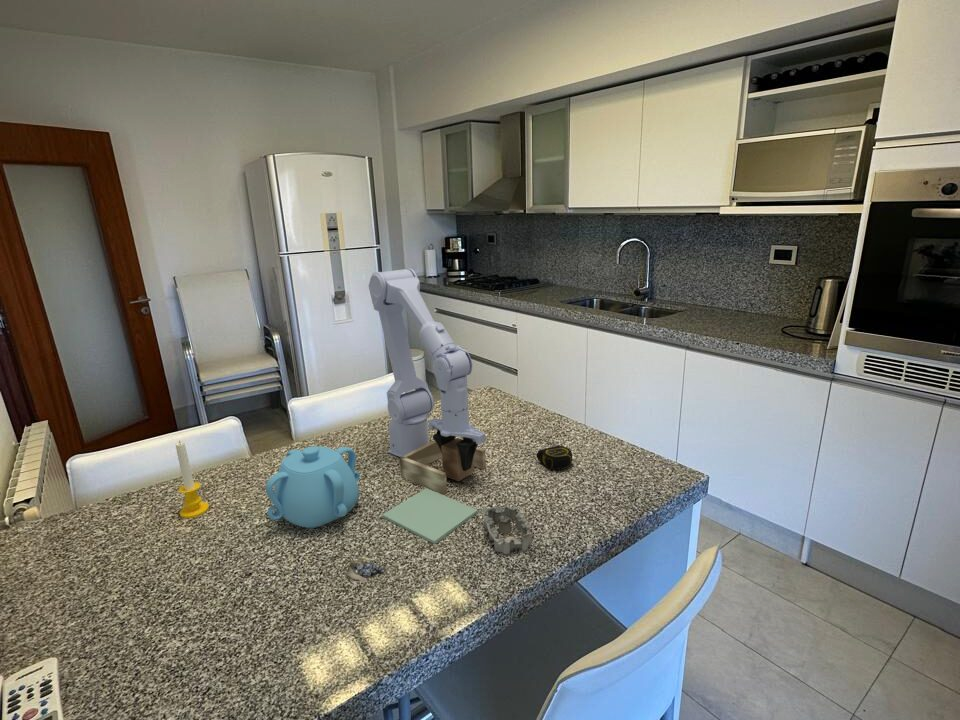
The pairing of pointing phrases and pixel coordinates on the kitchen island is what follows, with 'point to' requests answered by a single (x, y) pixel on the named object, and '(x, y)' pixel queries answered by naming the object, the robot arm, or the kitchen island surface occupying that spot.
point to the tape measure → (555, 457)
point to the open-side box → (427, 476)
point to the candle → (189, 486)
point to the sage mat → (430, 515)
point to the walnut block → (454, 461)
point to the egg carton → (507, 528)
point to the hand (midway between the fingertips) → (458, 465)
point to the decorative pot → (314, 486)
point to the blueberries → (364, 569)
